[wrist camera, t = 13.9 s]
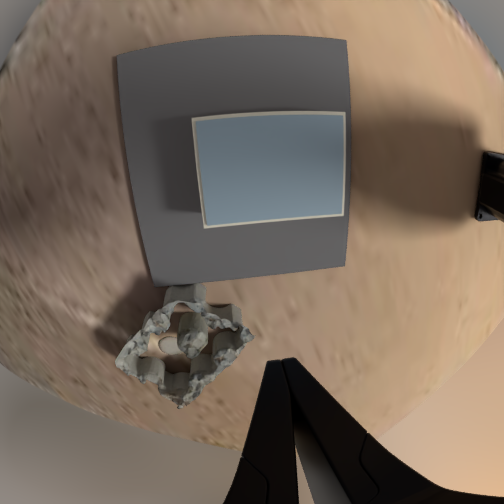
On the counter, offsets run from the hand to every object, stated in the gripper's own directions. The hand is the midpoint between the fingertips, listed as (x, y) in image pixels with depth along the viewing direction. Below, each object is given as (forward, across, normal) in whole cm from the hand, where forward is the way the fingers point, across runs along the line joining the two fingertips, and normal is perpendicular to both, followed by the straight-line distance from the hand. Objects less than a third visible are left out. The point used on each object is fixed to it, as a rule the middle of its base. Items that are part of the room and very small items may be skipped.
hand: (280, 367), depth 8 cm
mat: (+12, 0, -4) cm, 13 cm away
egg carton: (+13, +6, +9) cm, 17 cm away
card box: (+11, +2, -4) cm, 12 cm away
